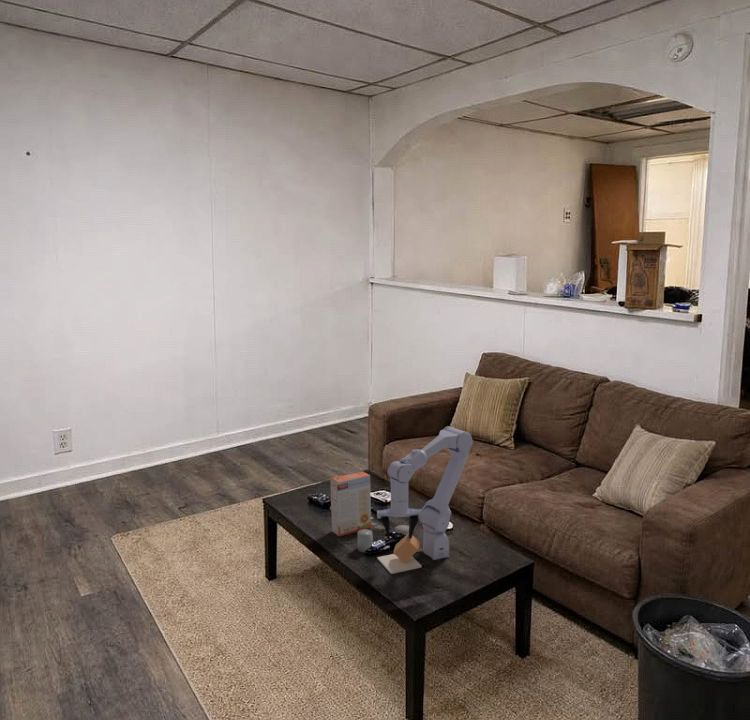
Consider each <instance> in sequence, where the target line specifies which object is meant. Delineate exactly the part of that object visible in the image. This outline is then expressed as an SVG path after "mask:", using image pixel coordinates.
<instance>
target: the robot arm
mask: <svg viewBox="0 0 750 720" xmlns="http://www.w3.org/2000/svg"><path fill="white" fill-rule="evenodd" d="M472 437H473V436H472V435H471V433H470V432H469V431H464V430H461V429H458V428H455V427H453V426H451V425H449V426H448V425H447V426H445V427H444V428H443V429H441V430H440V431H439V432H438V435H437V436H436V437H434V438H433V439H432V440H431V441H430V442H429V443H428V444H426V445H425V446H424V447H423V448H421V449H418V448H416V449H412V450H411V452H410V453H409V454H407V455H406V456H404V457H402V458H400V459H399V460H394V461H393V462H391V463H390V464H389V465H388V469H387V470H386V473H387V476H388V477H389V482H390V508H388V509H382V510H376V517H377V518H376V519H377V520H378V519H381V520H380V521H381V523H382V525H383V528H384V529H385V533H386V539H387V540H390V537H391V536H390V535H391V534H390V518H406V517H407V518H408V522H409V523H408V524H409V525H408V526H409V538H410V539H411V538H412V535H413V534H414V530H415V528H416V526H417V525H418V523H419V522H420V523H421V525H422V528H423V529H422V530H423V533H422V534H423V536H422V537H423V539H422V547H423V548H422V552H423V554H425V555H426V556H428V557H430V558H431V559H432V560H433V561H435V560H440V559H444V558H449V556H450V539H449V537H448V536H447V535H446V531H447V529H448V527H449V526H450V519H451V516H452V511H451V509H450V507H449V504H450V501H451V499H452V496H453V494H454V492H455V490H456V487H457V485H458V482H459V480H460V477H461V475H462V473H463V471H464V468H465V466H466V463H467V461H468V458H469V453H470V451H471V449H472V446H473V444H474V440H473V438H472ZM443 449H447V450H448V452H449V454H450V459H449V461H448V462H447V465H446V468H445V470H444V473H443V474H442V477H441V479H440V482H439V484H438V487H437V489H436V491H435V493H434V496H433V498H431V499H429V500H427V501H425V504H424V506H423V507H422V508H409V482H410V480H411V479H412V477H413V475H414V474H415V472H416V471H418V470H419V469H420V468H422V467H424V466H425V465H426V464H427V463H428V462H427V461H428V458H431V457H432V456H434V455H435V454H437V453H438V452H441V450H443Z"/></svg>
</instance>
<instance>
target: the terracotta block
mask: <svg viewBox="0 0 750 720" xmlns="http://www.w3.org/2000/svg"><path fill="white" fill-rule="evenodd" d="M419 546H420V547H421V541H420V540H419V539H417V538H416V536H414V535H413V534H412V538H411V539H410V538H409V533H408V534H407V535H406V536H405V537H404V538H401V539H400V540H399V542H397V543H396V544H395V545H394V549H393V553H392V554H395V555H396V556H397V557H398V558H399V559H400V560H402V561H403V562H404V563H405V562H406V561H407V560H408V559H409V558H411V557H414V555H415V554H416V553H418V552H417V551H418V550H419Z"/></svg>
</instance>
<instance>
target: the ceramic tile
mask: <svg viewBox="0 0 750 720" xmlns="http://www.w3.org/2000/svg"><path fill="white" fill-rule="evenodd" d="M376 558H377V560H378V561H379V562H380V564H381V565H382V566H383V567H384V568H385V569H386V570H387V572H389V574H390V575H392V574H398V573H401V572H406V571H412V570H416V569H419V568H421V569H422V567H423V566H422V564H420V562H419V561H418V560H416V559H415V558H414V556H412V557H411V558H409V559H408V560H407V561H406V562H405V563H404V562H403V561H402V560H400V559H399V558H398V557H397V556H396V555H395V554H394V553H391V554H387V555H382V556H377V557H376Z"/></svg>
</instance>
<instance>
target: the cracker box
mask: <svg viewBox="0 0 750 720" xmlns="http://www.w3.org/2000/svg"><path fill="white" fill-rule="evenodd" d="M371 494H372V493H371V475H370V474H368V473H366V472H365V471H358V472H353V473H350V474H345V475H339V476H335V477H330V508H331V509H330V511H331V512H330V513H331V532H332V533H333V534H335V535H336V536H337V537H339V538H340V537H344V536H347V535H351V534H353V533H357V532H358V531H359V530H363V529H367V530H370V529H371V528H372V512H371V511H372V510H371V509H372V508H371V507H372V505H371V501H372V498H371V497H372V495H371Z"/></svg>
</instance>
